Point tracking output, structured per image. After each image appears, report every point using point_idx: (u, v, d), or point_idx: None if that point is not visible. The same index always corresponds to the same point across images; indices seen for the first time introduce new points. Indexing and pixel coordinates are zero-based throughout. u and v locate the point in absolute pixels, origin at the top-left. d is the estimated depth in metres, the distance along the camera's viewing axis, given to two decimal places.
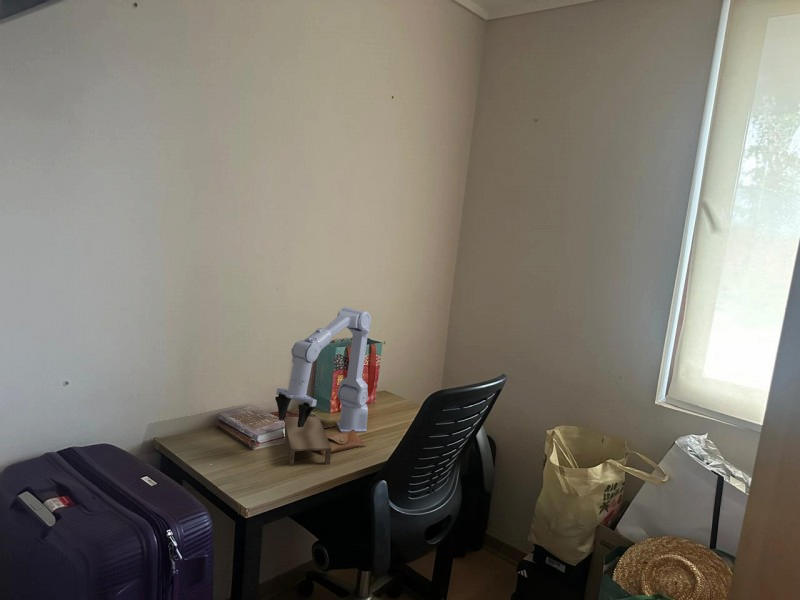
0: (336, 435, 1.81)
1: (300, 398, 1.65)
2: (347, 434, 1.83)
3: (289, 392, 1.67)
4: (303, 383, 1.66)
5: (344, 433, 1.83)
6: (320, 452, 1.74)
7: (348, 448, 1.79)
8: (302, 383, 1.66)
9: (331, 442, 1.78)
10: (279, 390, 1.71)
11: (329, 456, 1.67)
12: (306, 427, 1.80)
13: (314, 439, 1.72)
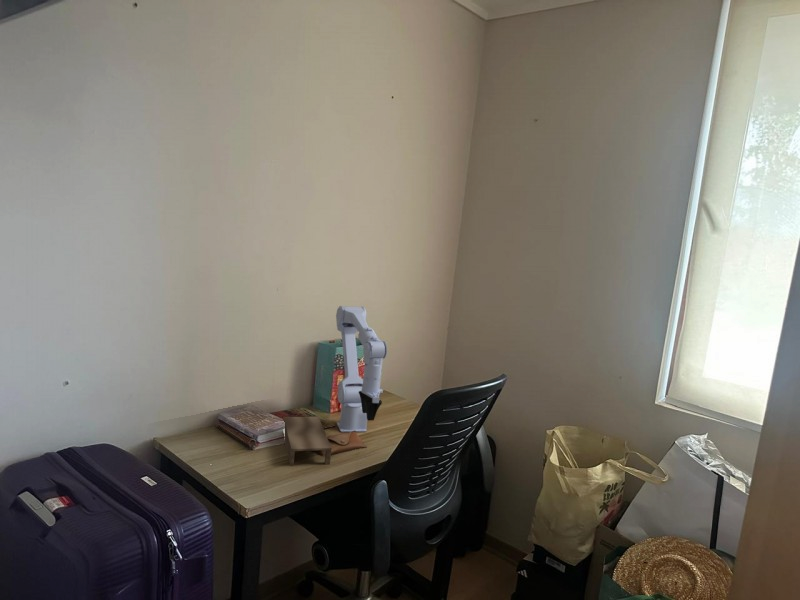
0: (337, 436, 1.80)
1: None
2: (348, 435, 1.82)
3: (379, 389, 1.81)
4: None
5: (345, 433, 1.83)
6: (321, 452, 1.73)
7: (349, 449, 1.78)
8: None
9: (332, 443, 1.77)
10: (378, 397, 1.75)
11: (329, 456, 1.67)
12: (306, 427, 1.80)
13: (314, 439, 1.72)
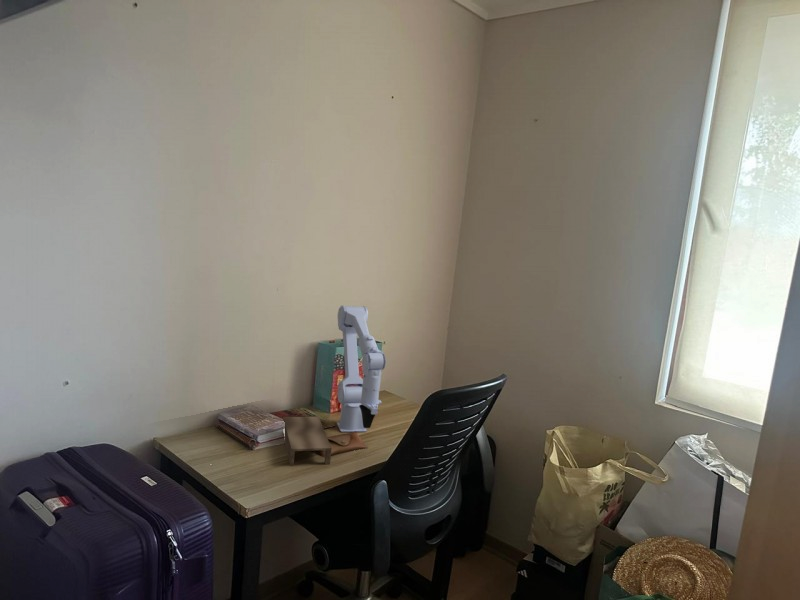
0: (338, 436, 1.80)
1: None
2: (349, 435, 1.82)
3: (378, 400, 1.81)
4: None
5: (346, 434, 1.82)
6: (322, 453, 1.73)
7: (350, 450, 1.78)
8: None
9: (333, 443, 1.77)
10: None
11: (329, 456, 1.67)
12: (306, 427, 1.80)
13: (314, 439, 1.72)
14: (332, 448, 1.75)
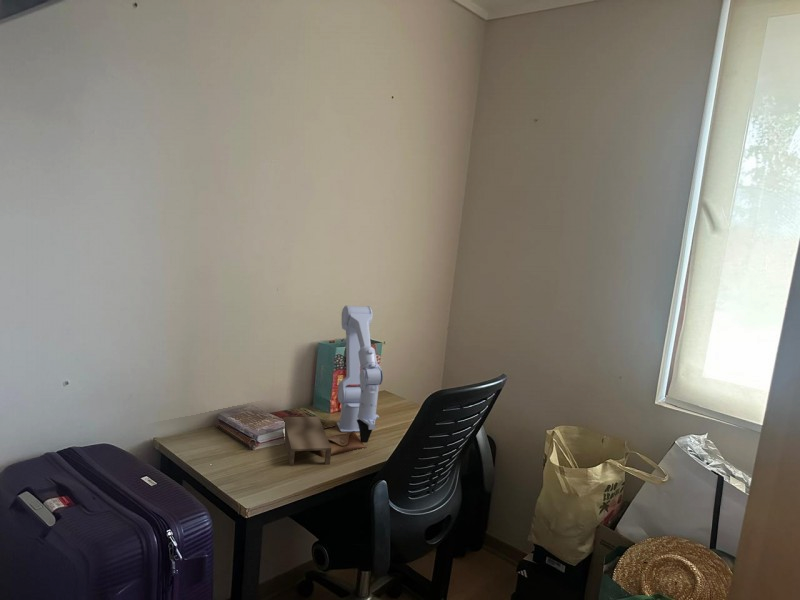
0: (337, 436, 1.80)
1: None
2: (348, 435, 1.82)
3: (375, 415, 1.82)
4: None
5: (345, 434, 1.82)
6: (321, 453, 1.73)
7: (349, 450, 1.78)
8: None
9: (332, 444, 1.77)
10: (374, 423, 1.77)
11: (329, 456, 1.67)
12: (306, 427, 1.80)
13: (314, 439, 1.72)
14: (331, 448, 1.75)
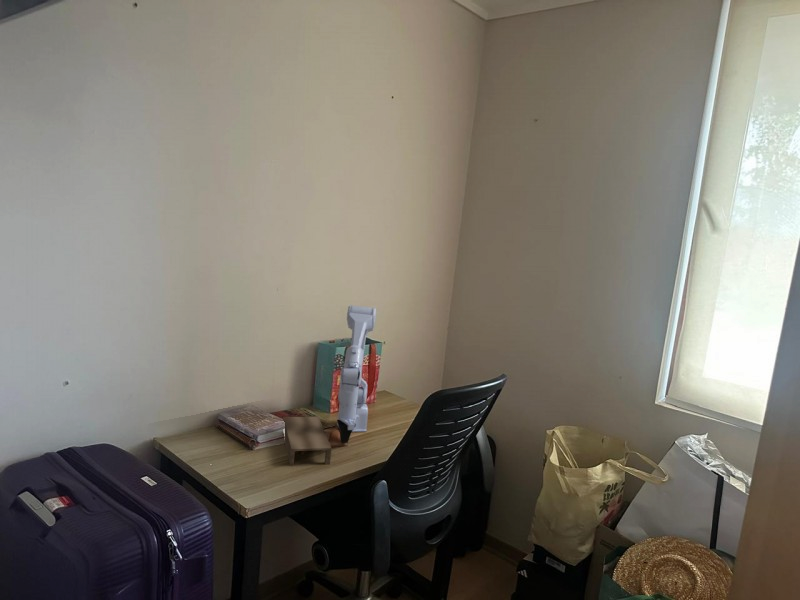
0: None
1: None
2: (329, 433, 1.82)
3: (355, 415, 1.80)
4: None
5: (327, 431, 1.83)
6: None
7: None
8: None
9: None
10: (354, 424, 1.75)
11: (329, 456, 1.67)
12: (306, 427, 1.80)
13: (314, 439, 1.72)
14: None
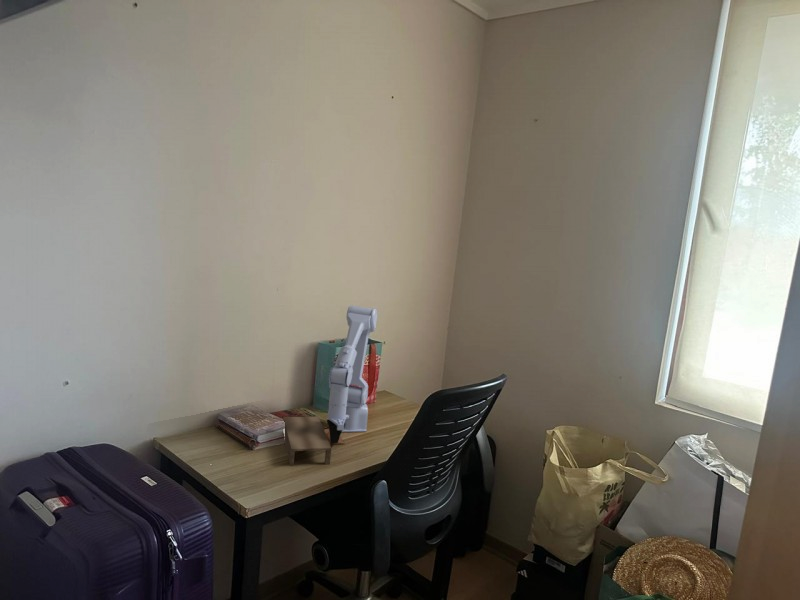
0: None
1: None
2: (327, 431, 1.83)
3: (345, 415, 1.79)
4: None
5: (324, 430, 1.84)
6: None
7: None
8: None
9: None
10: (343, 424, 1.74)
11: (329, 456, 1.67)
12: (306, 427, 1.80)
13: (314, 439, 1.72)
14: None
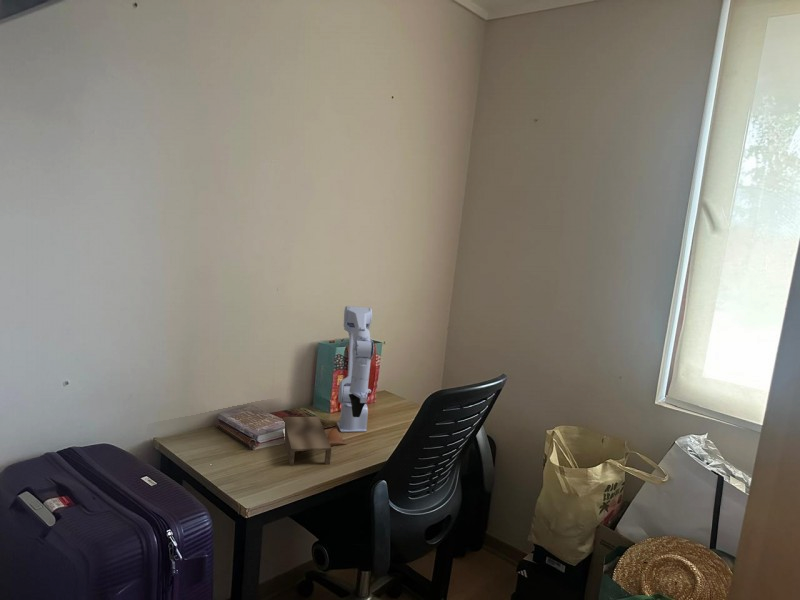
0: None
1: None
2: (328, 432, 1.83)
3: (367, 389, 1.79)
4: None
5: (325, 430, 1.84)
6: None
7: None
8: None
9: None
10: (366, 397, 1.74)
11: (329, 456, 1.67)
12: (306, 427, 1.80)
13: (314, 439, 1.72)
14: None
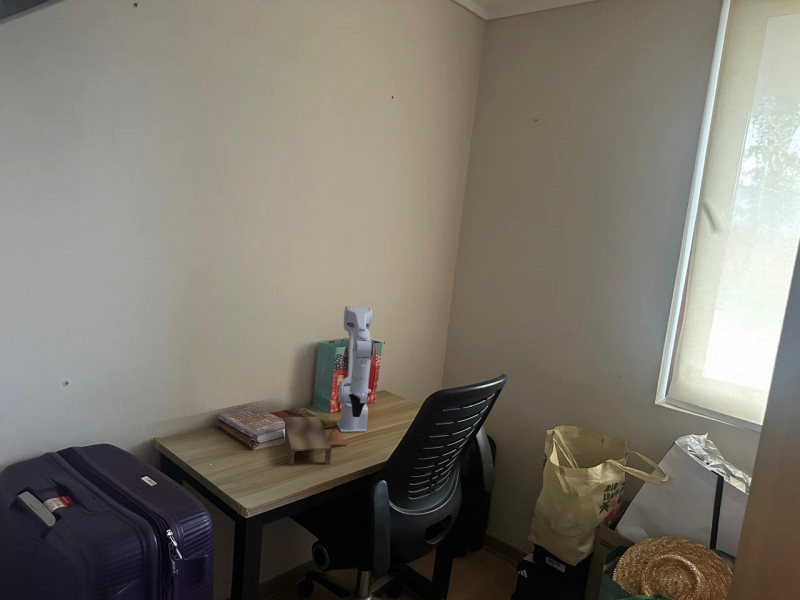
0: None
1: None
2: (329, 432, 1.82)
3: (367, 389, 1.79)
4: None
5: (326, 431, 1.83)
6: None
7: None
8: None
9: None
10: (366, 397, 1.74)
11: (329, 456, 1.67)
12: (306, 427, 1.80)
13: (314, 439, 1.72)
14: None
